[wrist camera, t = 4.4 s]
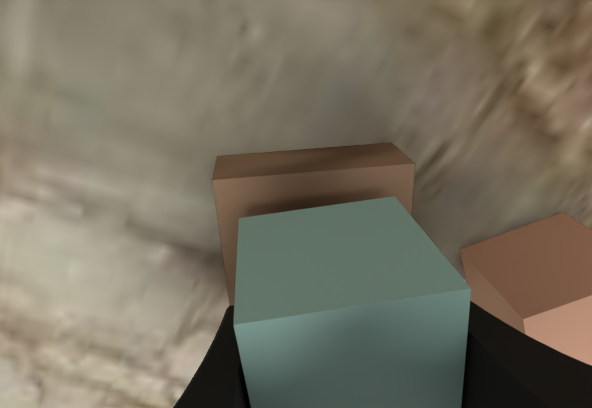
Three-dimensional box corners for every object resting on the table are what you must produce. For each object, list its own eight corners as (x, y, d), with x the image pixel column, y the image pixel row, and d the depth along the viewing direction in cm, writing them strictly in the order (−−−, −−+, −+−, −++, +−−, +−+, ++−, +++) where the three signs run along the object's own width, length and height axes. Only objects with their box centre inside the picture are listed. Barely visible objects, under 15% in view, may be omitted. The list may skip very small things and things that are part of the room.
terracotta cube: (561, 211, 19) (659, 271, 15) (568, 292, 21) (655, 366, 17) (458, 248, 19) (523, 319, 15) (475, 325, 22) (536, 407, 17)
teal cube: (394, 196, 13) (471, 288, 9) (395, 319, 15) (457, 446, 11) (238, 218, 13) (233, 325, 8) (261, 340, 15) (266, 479, 10)
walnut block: (388, 140, 17) (415, 163, 14) (382, 280, 20) (403, 322, 17) (218, 153, 17) (212, 180, 14) (236, 296, 20) (235, 341, 17)
